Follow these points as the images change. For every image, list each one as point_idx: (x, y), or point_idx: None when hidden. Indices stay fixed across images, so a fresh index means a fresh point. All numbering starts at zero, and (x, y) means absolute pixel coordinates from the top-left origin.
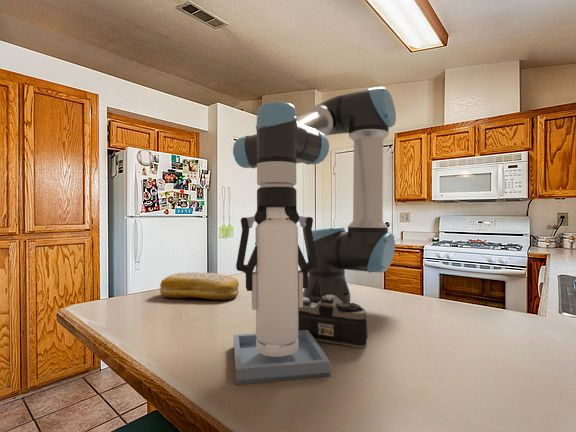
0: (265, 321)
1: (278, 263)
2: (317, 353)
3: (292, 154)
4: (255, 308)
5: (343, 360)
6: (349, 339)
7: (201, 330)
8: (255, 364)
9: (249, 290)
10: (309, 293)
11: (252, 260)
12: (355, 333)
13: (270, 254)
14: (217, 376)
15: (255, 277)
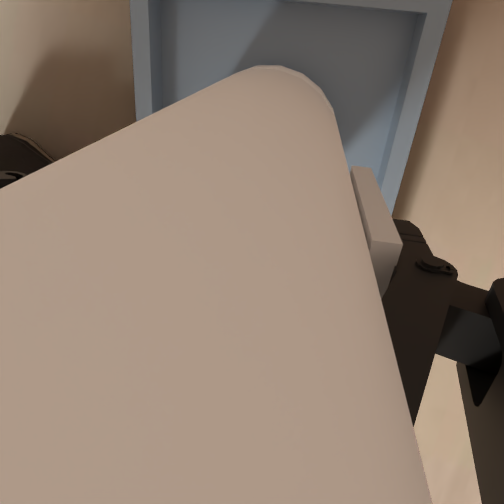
0: (323, 106)
1: (212, 132)
2: (152, 63)
3: None
4: (358, 168)
5: (83, 68)
6: (34, 154)
7: (426, 385)
8: (350, 97)
9: (396, 221)
10: None
11: (427, 310)
12: (2, 147)
13: (283, 195)
14: (476, 71)
15: (378, 231)
